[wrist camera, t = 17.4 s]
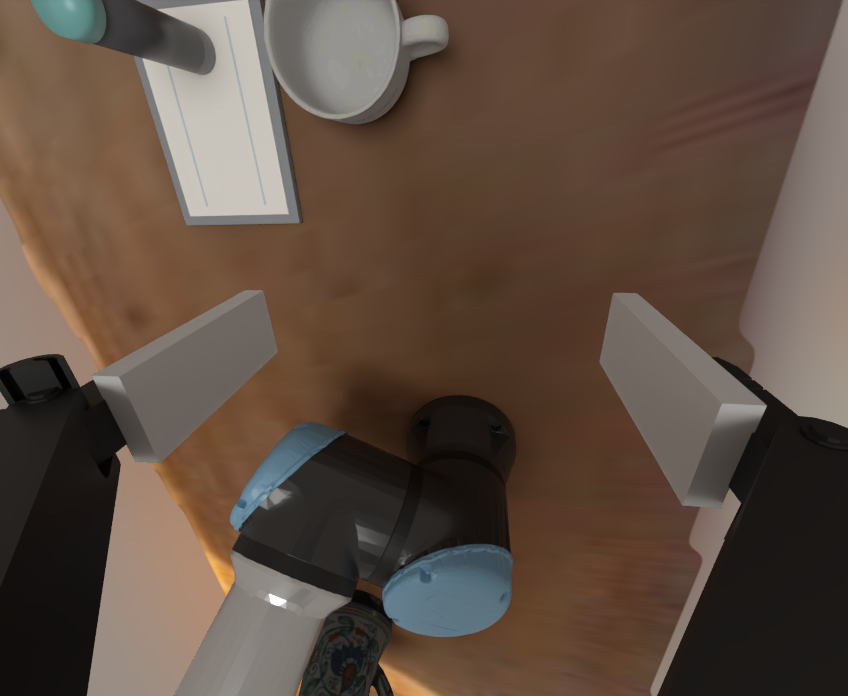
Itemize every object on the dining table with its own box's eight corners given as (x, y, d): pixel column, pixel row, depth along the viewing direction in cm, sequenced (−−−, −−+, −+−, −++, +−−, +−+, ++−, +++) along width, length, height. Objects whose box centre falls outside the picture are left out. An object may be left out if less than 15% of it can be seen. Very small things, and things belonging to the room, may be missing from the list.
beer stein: (306, 585, 76) (234, 762, 53) (397, 586, 71) (359, 778, 49) (331, 631, 82) (276, 804, 60) (416, 635, 78) (390, 822, 56)
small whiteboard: (302, 222, 42) (298, 223, 41) (191, 224, 44) (185, 225, 43) (261, -13, 33) (255, -17, 32) (123, 3, 35) (114, -1, 34)
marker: (221, 74, 36) (95, 34, 24) (186, 77, 36) (47, 40, 25) (209, 23, 34) (67, -46, 23) (173, 28, 35) (16, -37, 23)
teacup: (305, 118, 37) (263, 108, 30) (304, -27, 32) (255, -79, 25) (441, 140, 37) (431, 136, 30) (462, -5, 32) (456, -52, 24)
